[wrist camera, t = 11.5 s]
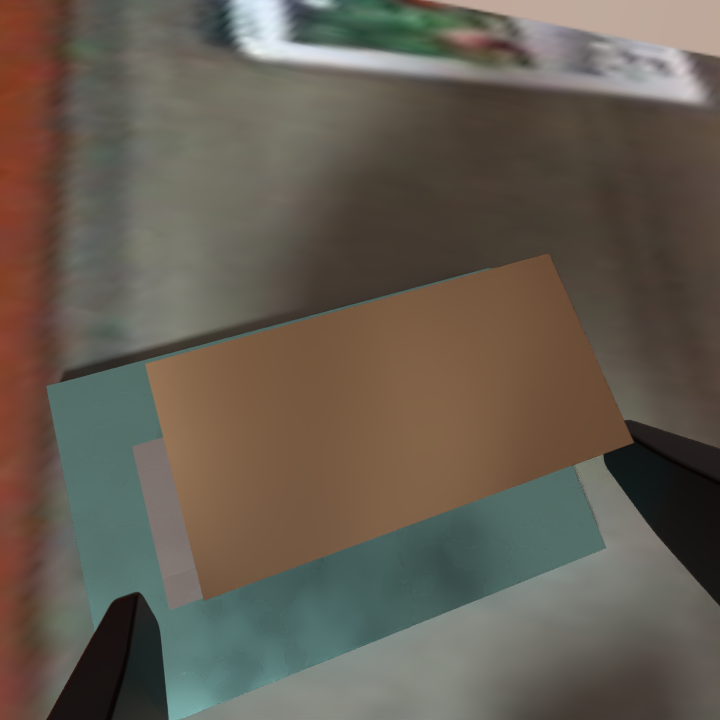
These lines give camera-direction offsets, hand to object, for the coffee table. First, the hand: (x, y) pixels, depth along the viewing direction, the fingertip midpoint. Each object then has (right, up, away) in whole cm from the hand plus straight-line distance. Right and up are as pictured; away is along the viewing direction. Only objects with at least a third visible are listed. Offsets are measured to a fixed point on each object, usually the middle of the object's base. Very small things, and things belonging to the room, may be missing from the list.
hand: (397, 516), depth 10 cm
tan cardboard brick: (-2, -1, +10) cm, 10 cm away
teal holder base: (-2, -1, +11) cm, 11 cm away
